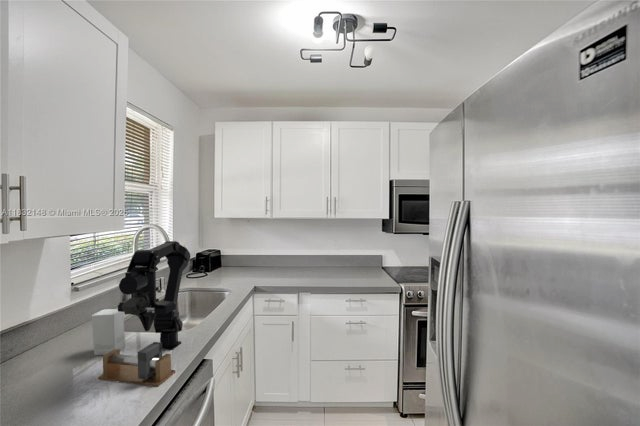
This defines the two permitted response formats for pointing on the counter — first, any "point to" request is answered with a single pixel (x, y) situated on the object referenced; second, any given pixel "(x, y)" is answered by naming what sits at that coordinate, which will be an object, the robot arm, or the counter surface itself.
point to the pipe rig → (134, 369)
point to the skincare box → (108, 331)
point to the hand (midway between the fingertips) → (147, 330)
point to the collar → (144, 357)
